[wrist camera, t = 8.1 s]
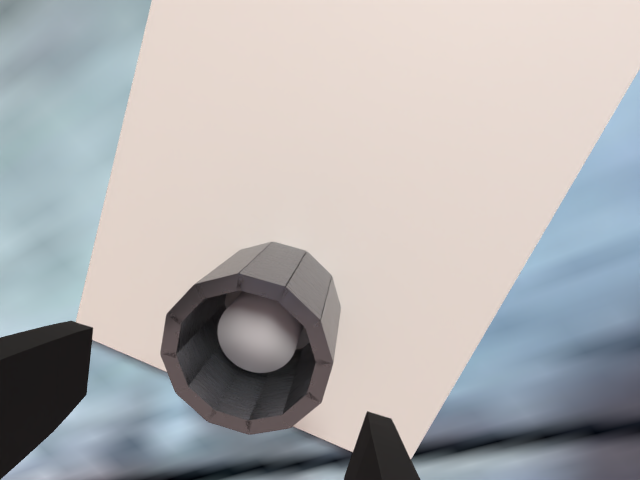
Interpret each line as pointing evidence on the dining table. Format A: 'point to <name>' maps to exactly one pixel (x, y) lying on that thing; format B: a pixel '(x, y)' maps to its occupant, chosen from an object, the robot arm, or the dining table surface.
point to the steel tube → (227, 378)
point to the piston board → (352, 176)
